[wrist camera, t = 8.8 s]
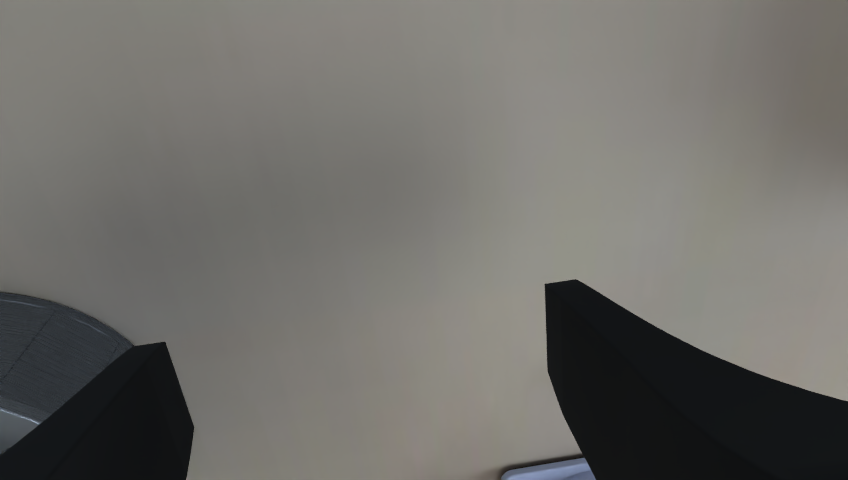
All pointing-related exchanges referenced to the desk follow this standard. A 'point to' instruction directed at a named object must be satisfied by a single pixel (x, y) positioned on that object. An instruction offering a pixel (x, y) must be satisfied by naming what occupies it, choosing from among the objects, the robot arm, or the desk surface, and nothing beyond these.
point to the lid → (17, 421)
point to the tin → (51, 350)
